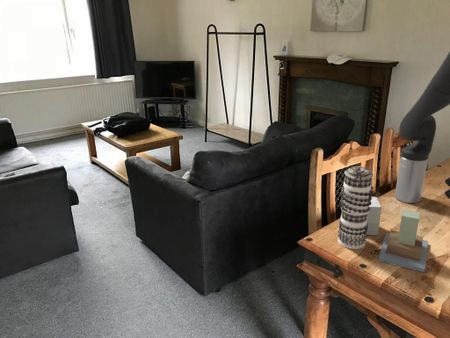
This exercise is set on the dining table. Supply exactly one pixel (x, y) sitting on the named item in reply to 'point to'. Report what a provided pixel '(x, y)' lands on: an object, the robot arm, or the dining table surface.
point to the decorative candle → (355, 207)
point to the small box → (373, 217)
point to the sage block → (408, 227)
